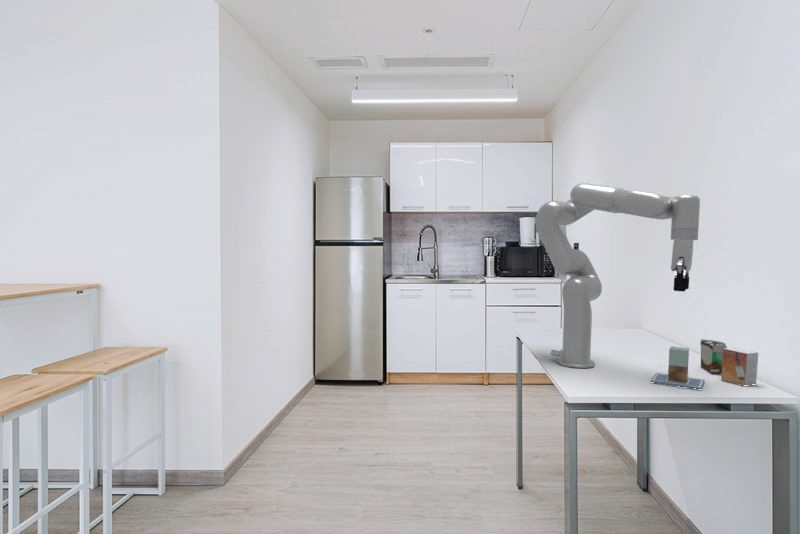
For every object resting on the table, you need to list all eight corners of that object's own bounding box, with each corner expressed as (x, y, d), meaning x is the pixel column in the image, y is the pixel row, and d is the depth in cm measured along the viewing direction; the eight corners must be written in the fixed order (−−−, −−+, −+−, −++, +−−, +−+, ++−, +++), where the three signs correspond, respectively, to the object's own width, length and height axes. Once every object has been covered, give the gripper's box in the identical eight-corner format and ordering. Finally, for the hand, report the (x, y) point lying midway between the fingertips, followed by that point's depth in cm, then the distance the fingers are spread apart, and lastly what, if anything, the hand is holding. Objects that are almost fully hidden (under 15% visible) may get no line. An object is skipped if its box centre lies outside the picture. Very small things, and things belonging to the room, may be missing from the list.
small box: (720, 380, 171) (722, 348, 170) (732, 379, 173) (733, 347, 172) (745, 387, 163) (746, 353, 163) (756, 385, 165) (758, 352, 165)
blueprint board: (650, 383, 166) (650, 380, 166) (656, 375, 176) (656, 372, 176) (701, 390, 158) (701, 387, 158) (704, 382, 168) (704, 379, 168)
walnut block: (667, 380, 166) (668, 364, 166) (669, 377, 170) (670, 361, 170) (685, 383, 163) (686, 367, 163) (687, 379, 167) (688, 364, 167)
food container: (732, 376, 176) (733, 346, 176) (712, 375, 177) (713, 345, 177) (717, 367, 188) (719, 340, 188) (699, 366, 189) (700, 339, 189)
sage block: (668, 364, 166) (669, 348, 166) (670, 361, 170) (671, 346, 170) (686, 367, 163) (687, 351, 163) (688, 364, 167) (689, 348, 167)
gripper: (674, 235, 174) (671, 287, 175) (667, 234, 159) (664, 291, 160) (700, 236, 170) (697, 289, 171) (695, 235, 155) (692, 293, 156)
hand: (681, 289), depth 165 cm, fingers open, 9 cm apart
